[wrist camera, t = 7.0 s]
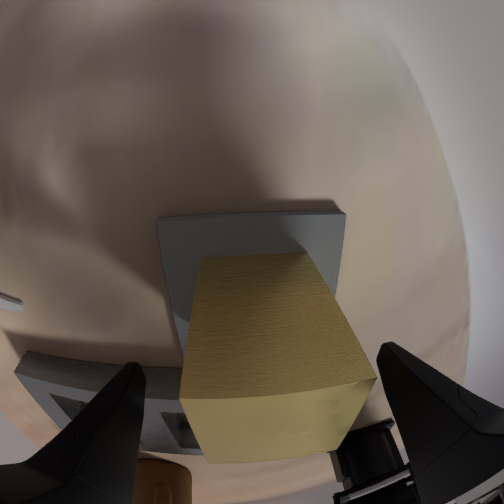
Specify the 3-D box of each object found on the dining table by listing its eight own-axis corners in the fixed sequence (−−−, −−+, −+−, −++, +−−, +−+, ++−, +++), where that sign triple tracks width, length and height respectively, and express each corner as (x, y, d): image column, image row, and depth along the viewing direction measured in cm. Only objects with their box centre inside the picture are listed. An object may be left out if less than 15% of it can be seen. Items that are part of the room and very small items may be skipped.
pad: (341, 210, 12) (345, 214, 11) (321, 342, 15) (324, 349, 15) (159, 217, 11) (156, 222, 11) (185, 351, 15) (184, 359, 14)
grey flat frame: (287, 363, 16) (294, 394, 13) (279, 427, 19) (283, 450, 17) (26, 350, 14) (13, 372, 12) (72, 414, 18) (65, 433, 16)
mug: (131, 439, 20) (120, 516, 12) (204, 454, 22) (204, 531, 13) (133, 467, 25) (127, 522, 16) (187, 478, 26) (187, 533, 18)
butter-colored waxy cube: (307, 252, 12) (377, 377, 5) (299, 331, 14) (336, 449, 7) (201, 257, 11) (178, 398, 5) (211, 337, 13) (208, 463, 7)
